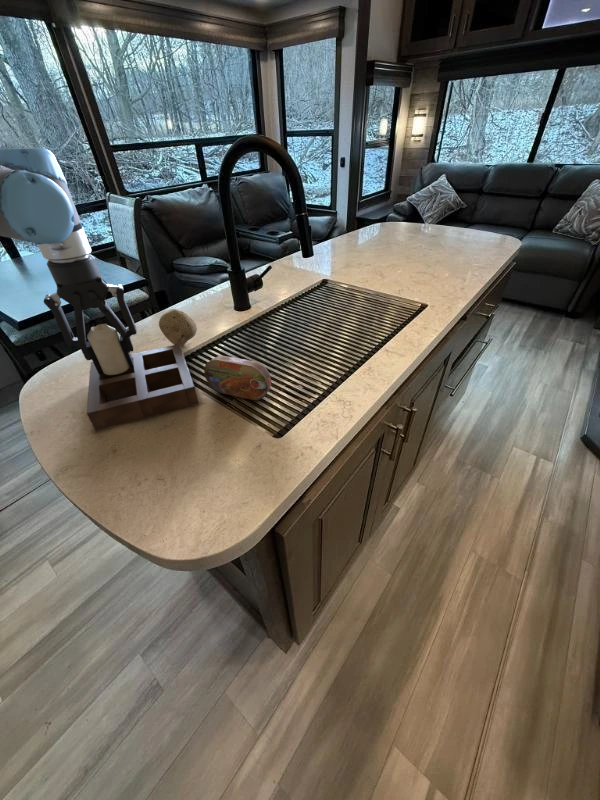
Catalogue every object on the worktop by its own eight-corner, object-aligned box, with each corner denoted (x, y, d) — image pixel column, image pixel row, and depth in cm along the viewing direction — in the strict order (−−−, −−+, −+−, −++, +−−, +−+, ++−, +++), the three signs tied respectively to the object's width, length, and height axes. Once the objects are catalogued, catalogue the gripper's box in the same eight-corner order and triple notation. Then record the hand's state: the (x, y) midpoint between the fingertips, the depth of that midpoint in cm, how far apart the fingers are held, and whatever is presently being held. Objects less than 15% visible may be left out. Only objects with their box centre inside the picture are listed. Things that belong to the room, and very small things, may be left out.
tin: (207, 390, 74) (199, 357, 69) (214, 382, 76) (207, 350, 71) (268, 404, 70) (265, 370, 65) (274, 395, 72) (271, 362, 67)
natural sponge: (192, 333, 96) (185, 300, 89) (205, 346, 90) (197, 311, 84) (161, 343, 91) (151, 308, 85) (172, 356, 86) (161, 320, 79)
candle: (123, 375, 71) (106, 333, 65) (98, 375, 71) (78, 333, 65) (134, 361, 75) (118, 320, 69) (110, 361, 75) (92, 321, 69)
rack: (95, 431, 64) (86, 413, 61) (98, 378, 78) (90, 362, 75) (198, 403, 70) (194, 386, 67) (183, 359, 84) (179, 343, 82)
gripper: (2, 270, 53) (67, 387, 67) (126, 255, 59) (162, 366, 73) (12, 258, 58) (70, 368, 73) (125, 246, 64) (158, 350, 79)
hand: (116, 367), depth 73 cm, fingers closed on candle, 5 cm apart
